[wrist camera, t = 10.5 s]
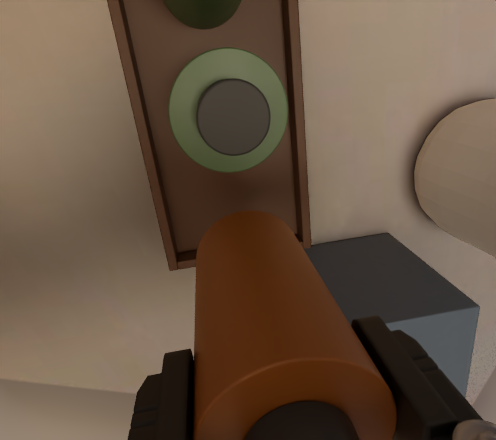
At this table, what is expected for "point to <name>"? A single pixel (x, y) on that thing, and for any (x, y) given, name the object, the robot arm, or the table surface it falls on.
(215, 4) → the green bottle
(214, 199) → the tray
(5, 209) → the table surface
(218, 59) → the green bottle mid
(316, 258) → the stand
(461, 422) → the robot arm
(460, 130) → the cup
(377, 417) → the amber bottle
